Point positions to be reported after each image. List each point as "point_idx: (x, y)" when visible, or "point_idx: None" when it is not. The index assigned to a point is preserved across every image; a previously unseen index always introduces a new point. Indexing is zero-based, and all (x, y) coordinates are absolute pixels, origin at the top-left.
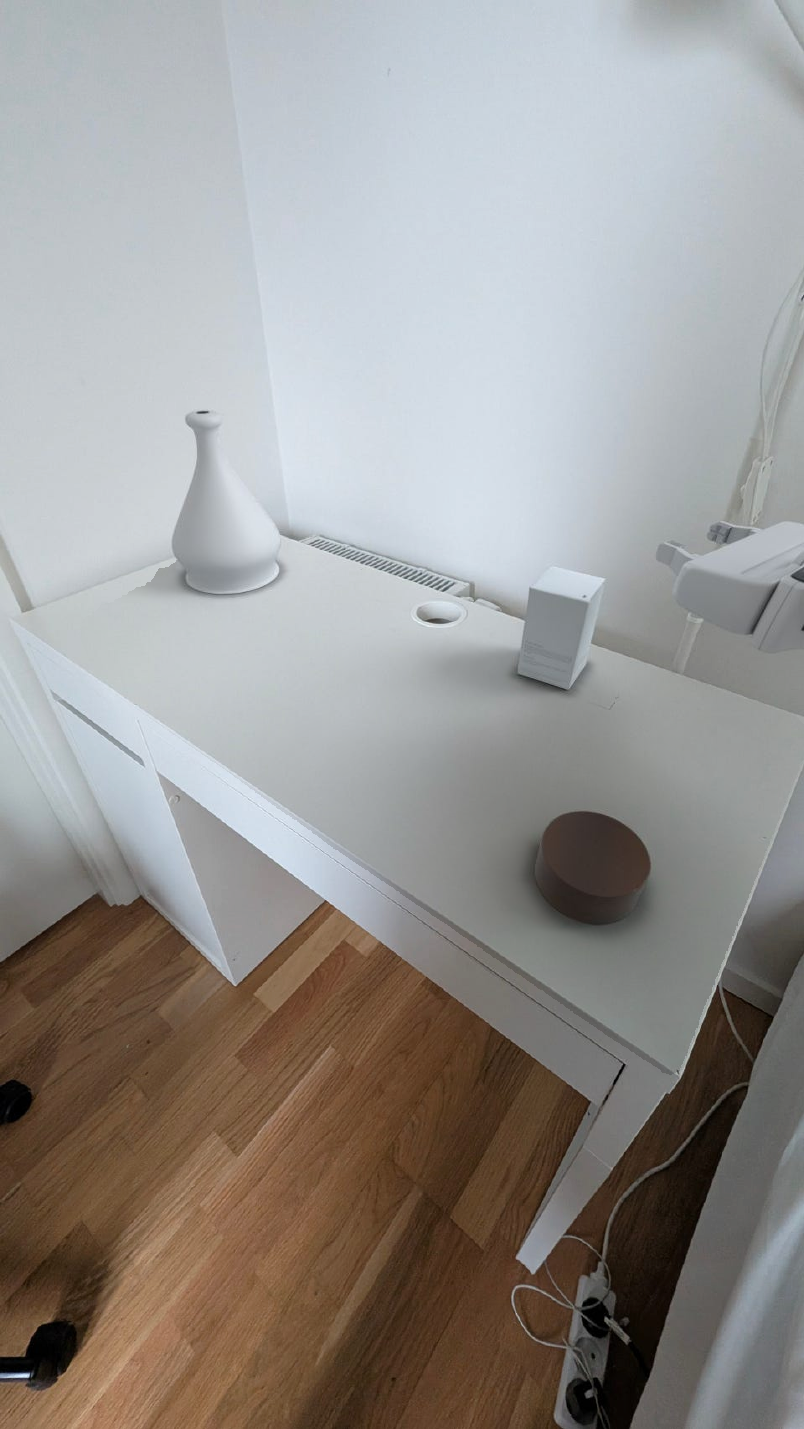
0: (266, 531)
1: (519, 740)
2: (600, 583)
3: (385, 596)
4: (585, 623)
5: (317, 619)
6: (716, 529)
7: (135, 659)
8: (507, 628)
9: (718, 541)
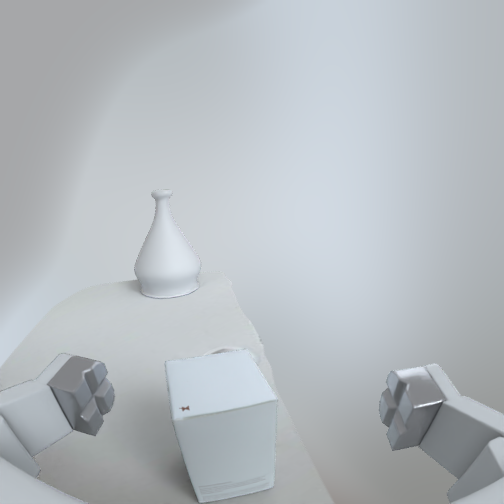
0: (175, 262)
1: (78, 495)
2: (252, 402)
3: (216, 331)
4: (189, 447)
5: (152, 327)
6: (396, 393)
7: (68, 308)
8: None
9: (391, 437)
